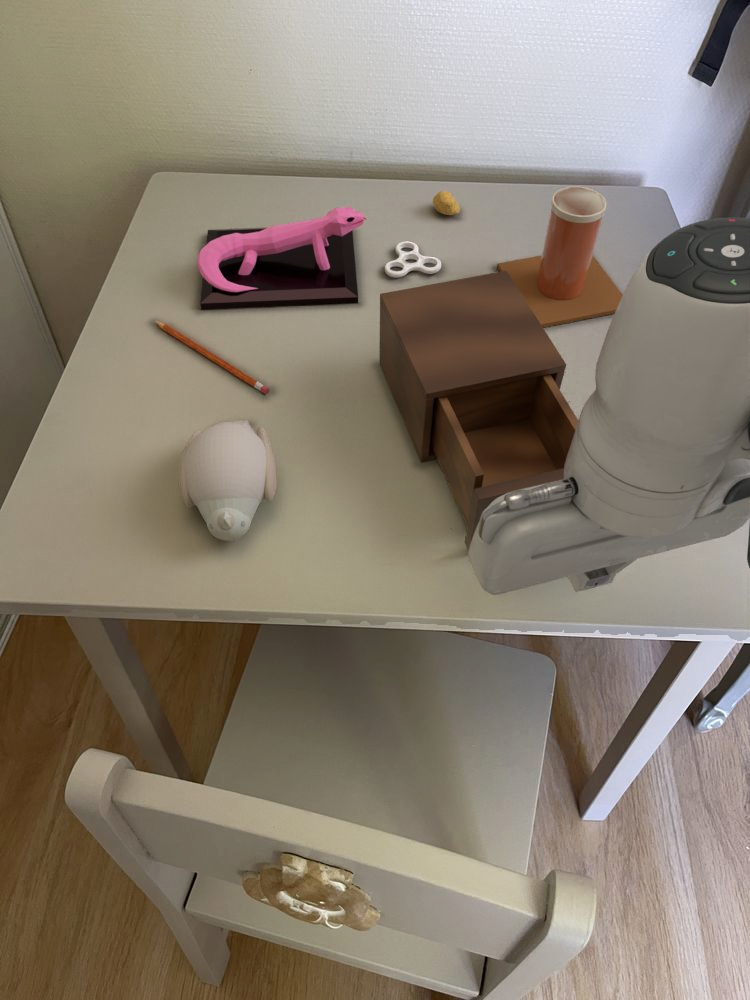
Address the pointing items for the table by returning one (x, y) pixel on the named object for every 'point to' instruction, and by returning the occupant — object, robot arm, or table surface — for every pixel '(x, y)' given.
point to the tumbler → (570, 242)
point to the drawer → (501, 441)
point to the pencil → (214, 358)
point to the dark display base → (281, 264)
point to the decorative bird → (228, 476)
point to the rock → (446, 203)
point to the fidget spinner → (411, 266)
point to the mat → (589, 304)
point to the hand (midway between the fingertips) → (588, 580)
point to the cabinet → (458, 345)
